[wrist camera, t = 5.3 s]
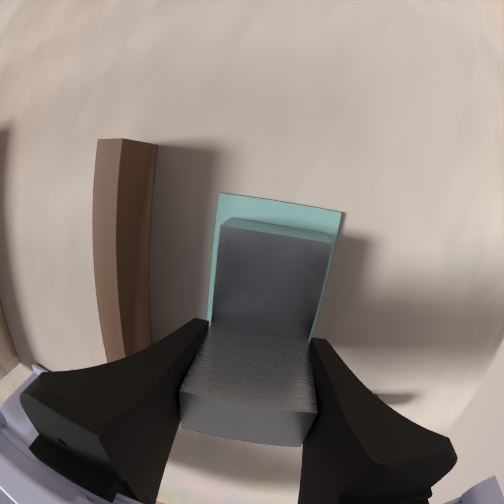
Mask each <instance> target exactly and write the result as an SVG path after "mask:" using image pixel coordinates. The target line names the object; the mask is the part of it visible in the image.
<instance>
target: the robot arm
mask: <svg viewBox="0 0 504 504" xmlns="http://www.w3.org/2000/svg"><path fill="white" fill-rule="evenodd" d="M208 329H209V321H207V320H202V319H197V318H194V319H192V320H191V321H189V322H188V323H186V324H185V325H183V326H182V327H180V328H179V329H177V330H176V331H174V332H173V333H171V334H170V335H168V336H167V337H165V338H163V339H162V340H160V341H158V342H156V343H155V344H153V345H151V346H149V347H147V348H145V349H143V350H141V351H139V352H137V353H135V354H132V355H130V356H127V357H125V358H122V359H119V360H116V361H113V362H109V363H106V364H102V365H99V366H94V367H89V368H84V369H78V370H70V371H56V372H48V371H46V370H44V369H43V368H41V367H39V366H38V365H36V364H33V365H32V369H33V371H34V373H33V374H32V375H31V376H30V377H29V378H28V379H27V380H26V381H25V382H24V383H23V384H22V385H21V386H20V387H19V388H18V389H17V390H16V391H15V392H14V393H13V394H12V395H11V396H10V397H9V398H8V399H7V400H6V401H5V402H4V403H3V404H2V405H1V406H0V504H155V503H156V499H157V495H158V491H159V487H160V484H161V480H162V477H163V473H164V470H165V466H166V463H167V460H168V456H169V453H170V450H171V447H172V444H173V441H174V438H175V435H176V432H177V429H178V426H179V424H180V422H181V411H180V392H179V390H180V388H181V386H182V384H183V382H184V380H185V377H186V375H187V373H188V371H189V369H190V367H191V365H192V362H193V360H194V358H195V356H196V354H197V352H198V350H199V348H200V345H201V344H202V342H203V340H204V338H205V336H206V334H207V332H208ZM309 349H310V357H311V363H312V368H313V376H314V385H315V394H316V403H317V415H316V417H315V419H314V421H313V423H312V425H311V427H310V429H309V431H308V433H307V435H306V437H305V439H304V441H303V452H302V469H301V480H300V490H299V498H298V504H429V502H428V498H430V497H431V496H432V491H431V487H432V486H433V485H434V484H436V483H437V482H438V481H439V480H440V479H441V478H443V477H444V476H445V475H446V474H447V473H448V472H449V471H450V470H451V469H452V468H453V467H454V465H455V464H456V462H457V455H456V453H455V450H454V448H453V446H452V444H451V441H450V439H449V438H448V437H445V436H443V435H440V434H438V433H435V432H433V431H430V430H428V429H426V428H424V427H422V426H420V425H418V424H416V423H414V422H412V421H410V420H409V419H407V418H405V417H404V416H402V415H401V414H399V413H398V412H396V411H395V410H393V409H392V408H390V407H389V406H388V405H386V404H385V403H384V402H383V401H381V400H380V399H379V398H378V397H377V396H376V395H374V394H373V393H372V392H371V391H370V390H369V389H368V388H367V387H366V386H365V385H364V384H363V383H362V382H361V381H360V380H359V379H358V378H357V377H356V376H355V375H354V374H353V372H352V371H351V370H350V369H349V368H348V367H347V365H346V364H345V363H344V362H343V360H342V359H341V358H340V357H339V355H338V354H337V353H336V351H335V350H334V349H333V348H332V346H331V345H330V344H329V342H328V341H327V340H326V339H318V338H311V340H310V344H309ZM444 504H504V497H503V494H502V492H501V489H500V487H499V484H498V482H497V480H496V477H495V476H492V477H490V478H488V479H487V480H484V481H482V482H480V483H478V484H477V485H475V486H473V487H472V488H470V489H469V490H468V491H466V492H465V493H464V494H462V496H461V497H459V498H456V499H454V500H452V501H449V502H447V503H444Z"/></svg>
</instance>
